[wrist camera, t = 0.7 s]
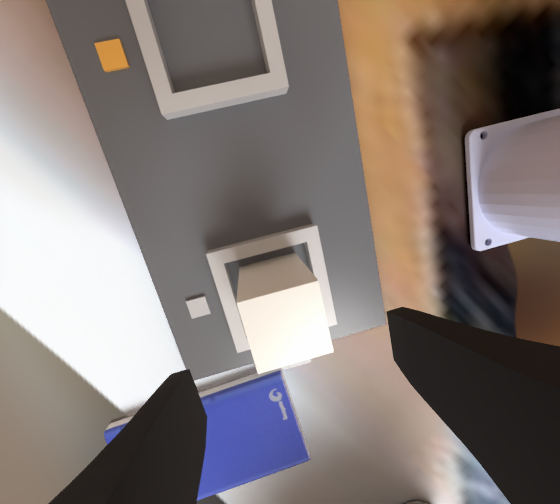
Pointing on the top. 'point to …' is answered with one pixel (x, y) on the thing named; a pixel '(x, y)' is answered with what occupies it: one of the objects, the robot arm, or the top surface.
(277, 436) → the hard drive
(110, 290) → the top surface
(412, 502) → the flask
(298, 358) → the plug
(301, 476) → the top surface
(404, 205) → the top surface
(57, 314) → the top surface
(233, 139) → the port panel
